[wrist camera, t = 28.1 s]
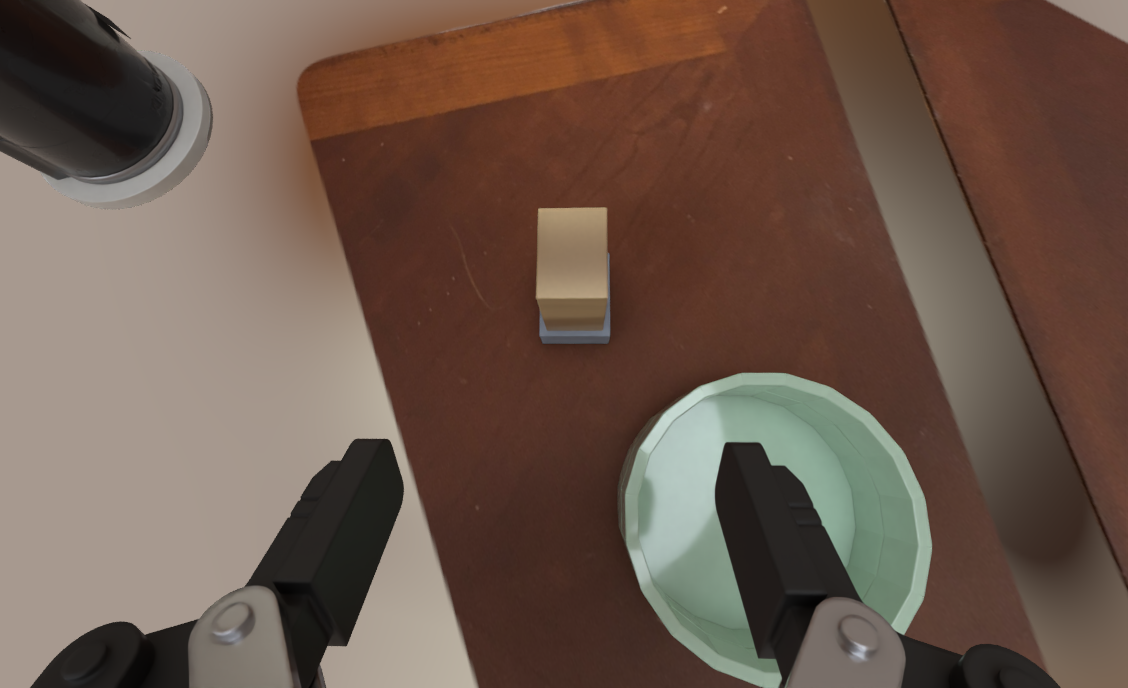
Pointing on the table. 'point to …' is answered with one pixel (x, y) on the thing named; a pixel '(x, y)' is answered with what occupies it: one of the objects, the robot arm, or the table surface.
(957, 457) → the table surface
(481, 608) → the table surface
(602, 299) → the eraser
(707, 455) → the bowl
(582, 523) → the table surface
